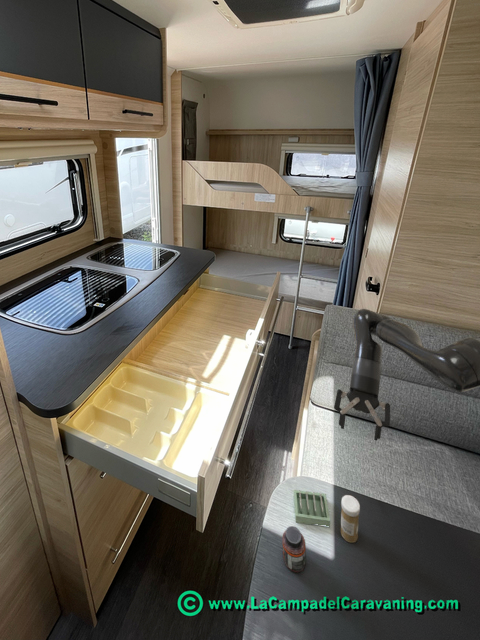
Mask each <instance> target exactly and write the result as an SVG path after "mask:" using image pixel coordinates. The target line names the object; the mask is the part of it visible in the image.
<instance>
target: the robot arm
mask: <svg viewBox="0 0 480 640" xmlns="http://www.w3.org/2000/svg"><path fill="white" fill-rule="evenodd" d="M352 321H353V322H352V325H353V332H354V339H355V345H356V346H355V351H354V352H355V353H354V360H353V363H352V368H351V376H350V384H349V390H348V392H347V391H344V390H342V389H337V391H336V396H335V401H334V405H333V409H334V410H335V411H336V412H338V413H339V419H338V426H340V429H342V430H345V424H346V414H347V413H348V412H350V411H351V410H352V409H353V410H354V411H358V412H362V413H363V414H364V413H365V414H367V415H368V414H371V416H372V418H373V419H374V421H375V423H376V425H375V429H374V441H376V442H378V440H381V438H382V428H383V427H390V426H391V404H390V403H389V402H382V401H379V393H380V383H381V378H382V377H381V374H382V367H381V366H382V364H381V363H382V355H383V347H382V345H381V344H380V343H378V342H377V341H376V340H374V338H373V336H375V337H378V339H379V340H380V341H382V342H383V343H385V344H386V345H389V346H390V347H392V348H395V349H396V350H398V351H400V352H401V353H402V354H403V355H404V356H406V357H407V358H408V359H410V360H411V361H412V362H413V363H414V364H415V365H417V366H418V367H420V368H421V369H422V370H423V371H425V372H426V374H428V375H430V377H432V378H433V379H434V380H435V381H437V382H438V383H440V384H441V385H443V386H444V387H446V388H447V389H448V390H452V391H453V392H456V393H464V392H468V391H471V390H474V389H476V388H478V387H480V340H479V339H478V338H475V337H465V338H464V337H463V338H462V339H459V340H455V342H452V343H450V344H447V345H444V346H442V347H439V348H438V349H436V350H432V349H429V348H426V347H424V345H423V342H422V340H421V337H420V335H419V334H418V332H417V330H415V329H414V328H413V327H411V326H409V325H407V324H405V323H401V322H399V321H397V320H394V319H393V318H391V317H389V316H387V315H385V314H381V313H379V312H376V311H373V310H370V309H367V308H362V309H359V310H357V311H356V312H355V314H354V316H353V320H352ZM345 397H347V399H348V401H349V403H347V404H346V406H344V407H342V408H341V403H342V399H344V398H345ZM379 406H380V407H381V410H382V411H384V421H383V420H382V421H381V419H380V418H379V416H378V414H377V413H376V409H377V408H379Z"/></svg>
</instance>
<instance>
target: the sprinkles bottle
mask: <svg viewBox="0 0 480 640" xmlns="http://www.w3.org/2000/svg"><path fill="white" fill-rule="evenodd" d="M340 501H341V502H340V505H341V513H340V535H341V537H342V538H343V539H344V540H345V541H346V542H348V543H351V544H353V543H356V542H357V541H358V539H359V519H360V517H359V516H360V513H361V505H360V501H359V500H358V499H357V498H355V496H353V495H350V494H345V495H343V496H342V497H341V500H340Z"/></svg>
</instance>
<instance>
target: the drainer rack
mask: <svg viewBox="0 0 480 640" xmlns="http://www.w3.org/2000/svg"><path fill="white" fill-rule="evenodd" d="M301 491H302V490H300V489H299V501H300V513H301V514H302V502H301ZM305 491H306V505H307V515H309V503H308V493H307V492H308V490H305ZM312 492H313V507H314V516H316V503H315V495H314V491H312ZM319 493H320V509H321V516H322V517H324V510H323V503H322V496H321V492H319Z"/></svg>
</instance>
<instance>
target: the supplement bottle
mask: <svg viewBox="0 0 480 640" xmlns="http://www.w3.org/2000/svg"><path fill="white" fill-rule="evenodd" d="M281 540H282V541H281V543H282V558H283V562H284V564H285V566H286V568H287V569H289V571H291V572H293V573H301V572H302V571H304V569H305V568H306V564H307V550H306V548H307V546H306V539H305V537H304V535H303V534H302V533H301V530H300V529H299V528H298V527H296V526H294V525H291V526H290V525H289V526H288V527H287V528H286V530H284V532H283V533H282V536H281Z"/></svg>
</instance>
